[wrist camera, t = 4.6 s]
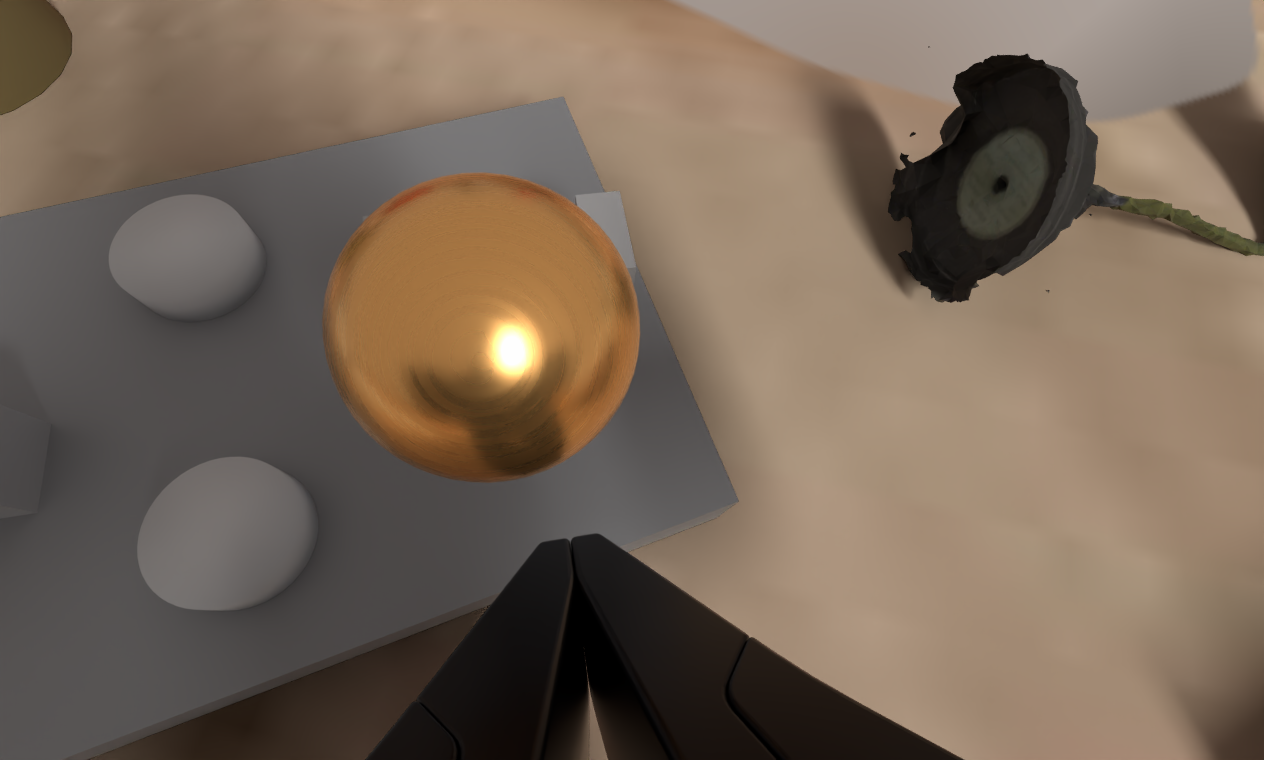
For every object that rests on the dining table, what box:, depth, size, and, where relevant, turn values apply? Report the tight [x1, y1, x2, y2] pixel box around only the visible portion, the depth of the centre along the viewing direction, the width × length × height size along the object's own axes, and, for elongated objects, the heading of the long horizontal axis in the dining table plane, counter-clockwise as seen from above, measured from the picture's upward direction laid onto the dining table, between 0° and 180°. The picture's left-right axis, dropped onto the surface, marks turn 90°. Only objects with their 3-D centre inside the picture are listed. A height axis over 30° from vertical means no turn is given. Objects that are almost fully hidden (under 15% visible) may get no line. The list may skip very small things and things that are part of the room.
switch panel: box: [0, 97, 739, 760], centre depth 14 cm, size 13×21×6 cm, turn 111°
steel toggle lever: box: [322, 172, 640, 483], centre depth 10 cm, size 3×3×11 cm
